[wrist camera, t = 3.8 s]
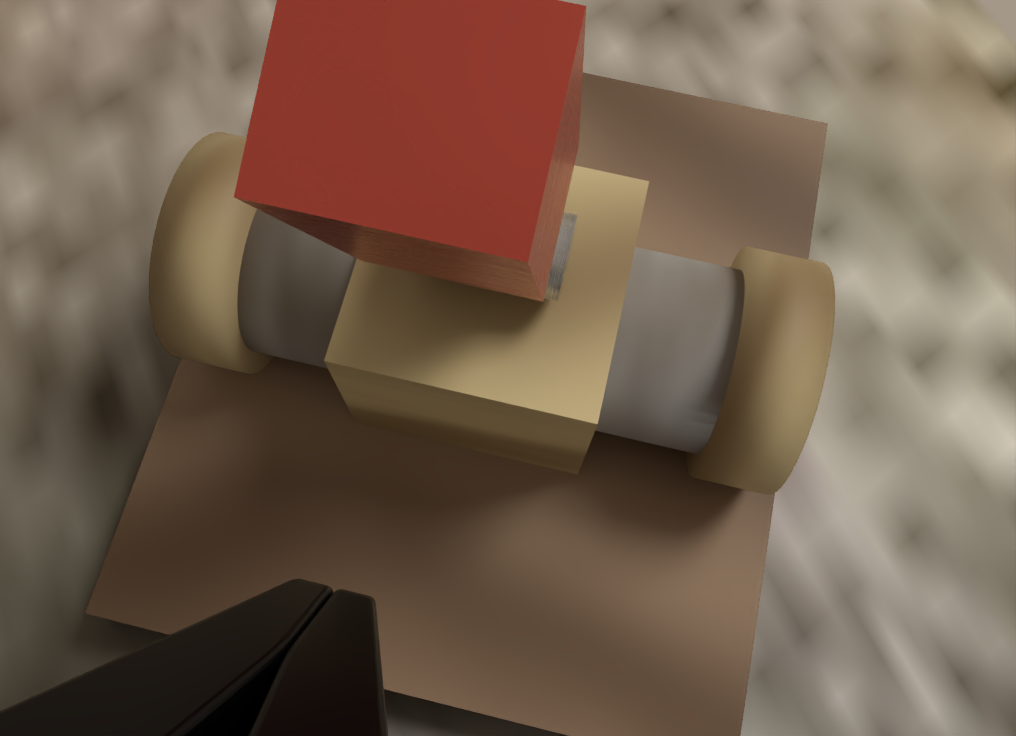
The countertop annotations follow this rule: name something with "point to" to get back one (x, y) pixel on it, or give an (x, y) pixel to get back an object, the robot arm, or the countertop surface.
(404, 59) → the lever
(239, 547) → the valve stand
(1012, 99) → the countertop surface
